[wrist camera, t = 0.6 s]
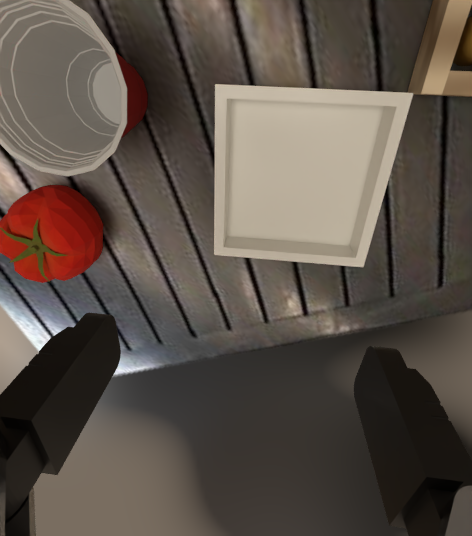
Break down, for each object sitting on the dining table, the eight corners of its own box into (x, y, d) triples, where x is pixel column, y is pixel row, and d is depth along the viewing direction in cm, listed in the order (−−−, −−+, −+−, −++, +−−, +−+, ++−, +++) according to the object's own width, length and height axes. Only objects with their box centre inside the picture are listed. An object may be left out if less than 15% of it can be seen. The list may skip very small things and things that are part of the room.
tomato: (118, 188, 35) (76, 213, 27) (116, 268, 40) (81, 307, 33) (28, 165, 34) (-40, 184, 27) (38, 249, 40) (-16, 284, 32)
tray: (221, 85, 29) (215, 84, 25) (395, 93, 27) (413, 93, 24) (219, 239, 36) (214, 254, 33) (354, 250, 35) (363, 267, 32)
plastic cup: (197, 90, 29) (156, 86, 19) (136, 172, 34) (76, 206, 23) (102, -10, 26) (-10, -81, 16) (49, 95, 31) (-66, 94, 20)
